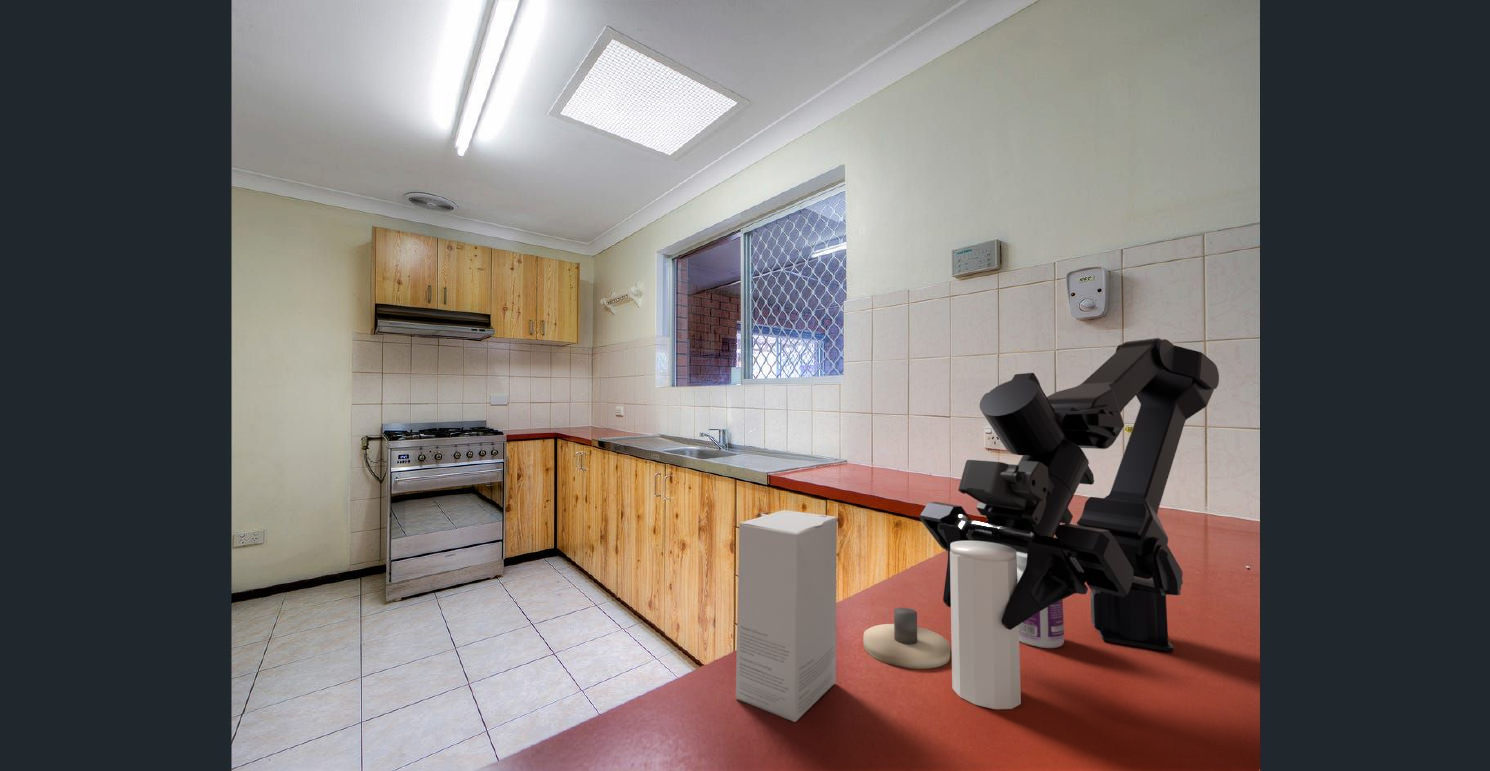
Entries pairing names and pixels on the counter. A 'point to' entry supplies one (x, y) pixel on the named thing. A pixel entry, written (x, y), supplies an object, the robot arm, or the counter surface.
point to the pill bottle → (1041, 620)
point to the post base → (906, 643)
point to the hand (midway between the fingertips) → (974, 614)
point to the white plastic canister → (984, 624)
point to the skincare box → (786, 611)
